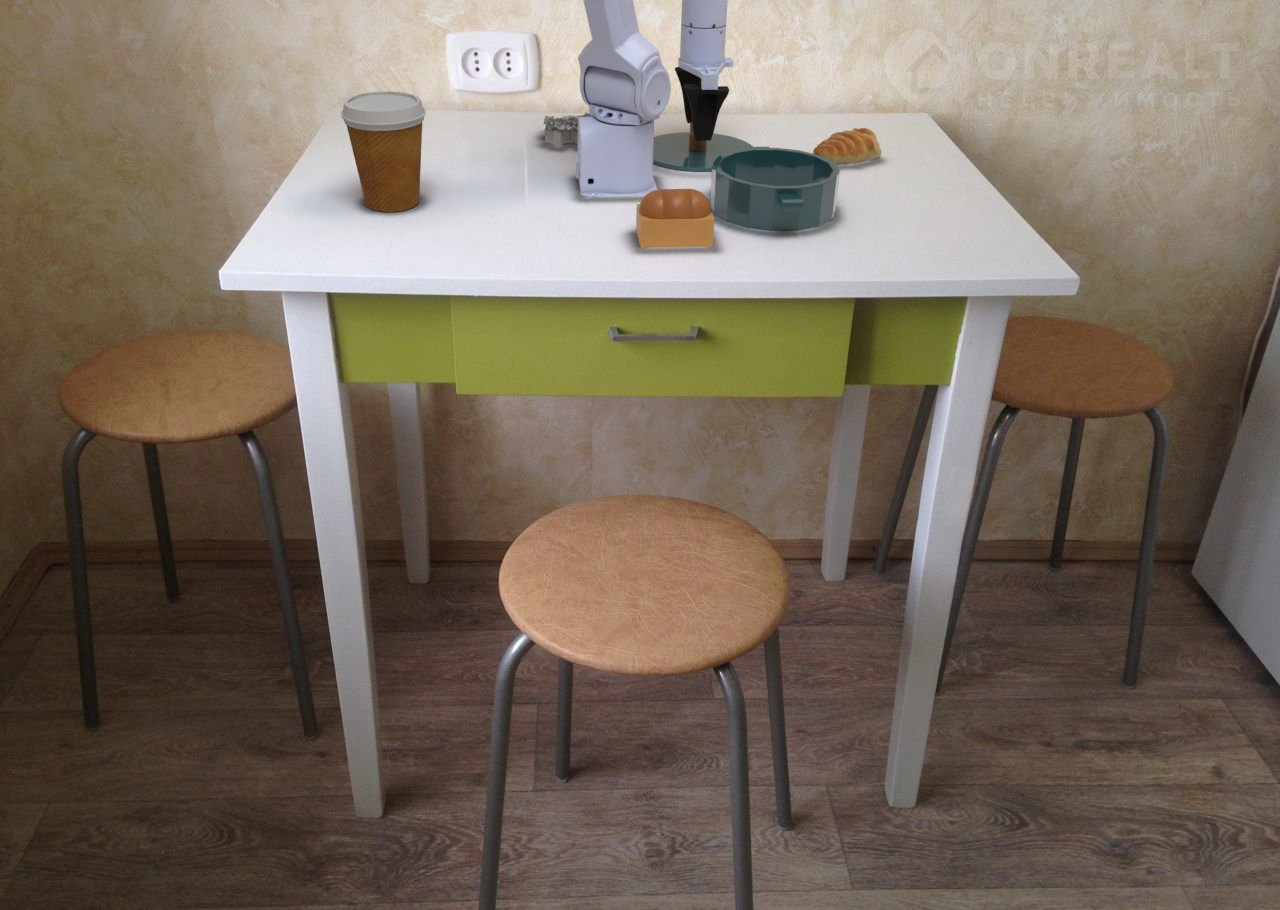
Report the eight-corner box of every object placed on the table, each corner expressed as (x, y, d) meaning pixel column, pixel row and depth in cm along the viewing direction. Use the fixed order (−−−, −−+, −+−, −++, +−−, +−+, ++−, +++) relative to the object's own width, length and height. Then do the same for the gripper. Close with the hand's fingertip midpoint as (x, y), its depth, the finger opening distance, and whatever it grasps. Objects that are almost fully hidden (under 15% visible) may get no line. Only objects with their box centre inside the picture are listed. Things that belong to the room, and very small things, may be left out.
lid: (645, 177, 146) (646, 140, 143) (633, 140, 159) (634, 106, 156) (765, 175, 147) (768, 139, 145) (744, 139, 160) (746, 105, 158)
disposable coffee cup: (402, 184, 141) (393, 85, 135) (448, 204, 136) (441, 102, 129) (335, 201, 136) (323, 99, 129) (381, 223, 130) (370, 117, 124)
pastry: (836, 174, 148) (839, 144, 146) (799, 160, 153) (801, 132, 151) (884, 160, 153) (887, 132, 151) (846, 148, 158) (850, 120, 156)
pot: (725, 244, 127) (728, 197, 124) (699, 184, 144) (701, 141, 141) (853, 242, 128) (859, 195, 125) (813, 183, 145) (817, 140, 142)
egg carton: (621, 135, 161) (622, 106, 158) (620, 152, 154) (620, 121, 152) (545, 133, 161) (545, 103, 158) (541, 149, 154) (540, 119, 152)
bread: (640, 251, 125) (641, 198, 121) (635, 234, 129) (637, 183, 126) (712, 250, 125) (715, 197, 122) (705, 233, 130) (708, 182, 126)
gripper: (745, 36, 138) (737, 147, 145) (725, 11, 150) (719, 115, 158) (687, 37, 137) (683, 148, 145) (672, 11, 150) (669, 115, 157)
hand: (698, 131), depth 151 cm, fingers open, 7 cm apart
